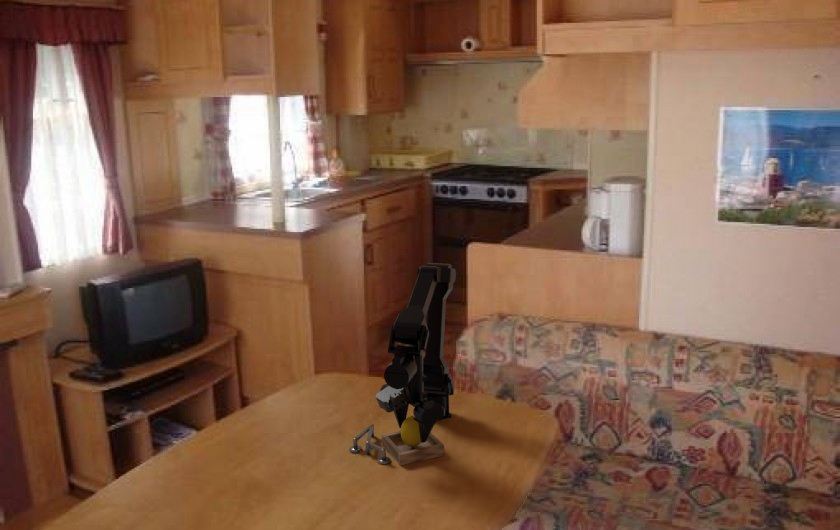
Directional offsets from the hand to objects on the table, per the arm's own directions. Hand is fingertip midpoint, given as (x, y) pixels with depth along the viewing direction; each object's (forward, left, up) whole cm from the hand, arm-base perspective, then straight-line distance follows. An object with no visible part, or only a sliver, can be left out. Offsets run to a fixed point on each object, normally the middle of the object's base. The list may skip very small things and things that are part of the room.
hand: (412, 434), depth 183 cm
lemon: (0, 0, -4) cm, 4 cm away
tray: (0, 0, -4) cm, 4 cm away
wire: (+10, -4, -4) cm, 11 cm away
